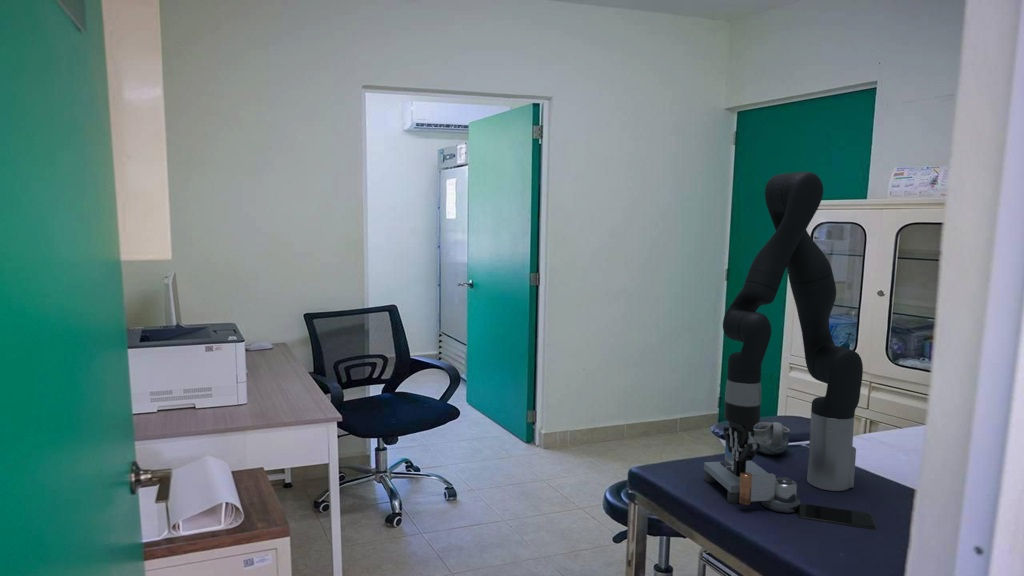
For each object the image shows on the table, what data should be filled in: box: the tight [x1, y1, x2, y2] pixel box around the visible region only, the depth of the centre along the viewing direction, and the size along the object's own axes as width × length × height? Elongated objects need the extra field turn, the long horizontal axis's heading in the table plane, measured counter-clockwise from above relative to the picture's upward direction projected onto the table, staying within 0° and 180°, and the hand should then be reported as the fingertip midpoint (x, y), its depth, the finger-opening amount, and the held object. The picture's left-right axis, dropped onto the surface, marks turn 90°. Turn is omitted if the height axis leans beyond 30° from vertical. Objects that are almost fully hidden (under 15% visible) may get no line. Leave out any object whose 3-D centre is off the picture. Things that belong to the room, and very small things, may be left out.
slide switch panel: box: [703, 460, 770, 505], centre depth 156 cm, size 12×14×6 cm
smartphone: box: [796, 502, 877, 530], centre depth 143 cm, size 7×1×15 cm
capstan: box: [738, 472, 801, 514], centre depth 147 cm, size 14×8×8 cm, turn 99°
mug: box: [753, 421, 791, 456], centre depth 179 cm, size 10×12×10 cm
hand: (739, 475), depth 151 cm, fingers closed
